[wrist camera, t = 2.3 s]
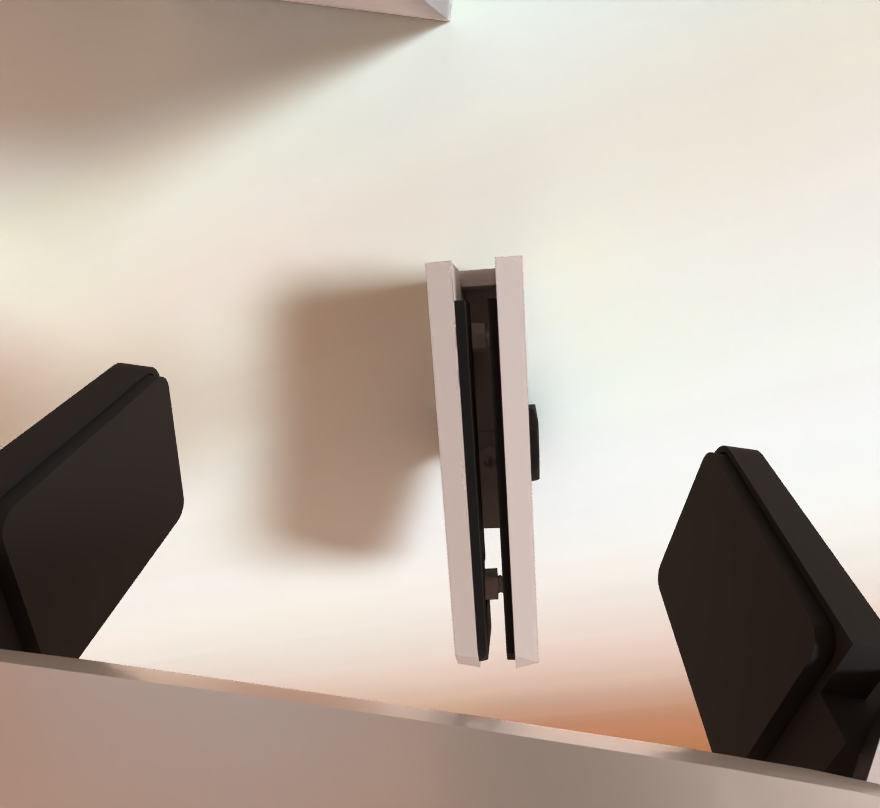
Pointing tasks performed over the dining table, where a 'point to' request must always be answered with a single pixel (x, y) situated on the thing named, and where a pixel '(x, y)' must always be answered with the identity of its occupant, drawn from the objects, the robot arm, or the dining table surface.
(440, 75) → the dining table surface
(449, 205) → the dining table surface
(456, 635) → the grey plank with wheel
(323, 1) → the cabinet
